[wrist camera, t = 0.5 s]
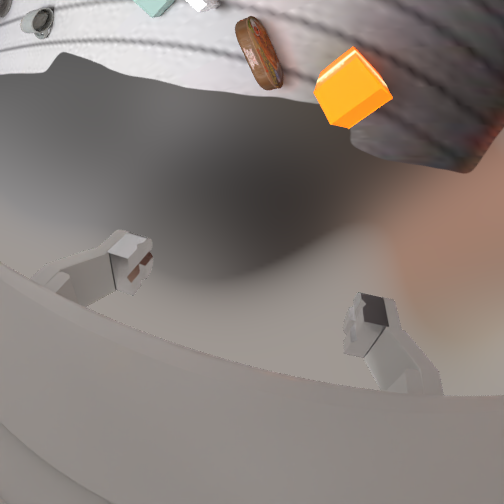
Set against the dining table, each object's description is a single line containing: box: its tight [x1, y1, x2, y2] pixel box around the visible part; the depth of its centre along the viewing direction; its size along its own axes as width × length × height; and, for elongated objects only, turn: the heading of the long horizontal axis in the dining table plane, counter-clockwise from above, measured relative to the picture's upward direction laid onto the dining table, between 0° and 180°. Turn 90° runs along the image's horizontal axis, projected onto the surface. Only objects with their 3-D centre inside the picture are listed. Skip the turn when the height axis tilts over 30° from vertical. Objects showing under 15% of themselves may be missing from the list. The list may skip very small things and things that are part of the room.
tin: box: [235, 16, 283, 90], centre depth 40 cm, size 15×3×8 cm, turn 22°
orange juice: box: [314, 46, 393, 129], centre depth 36 cm, size 8×9×20 cm
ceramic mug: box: [21, 8, 54, 39], centre depth 37 cm, size 11×8×8 cm
